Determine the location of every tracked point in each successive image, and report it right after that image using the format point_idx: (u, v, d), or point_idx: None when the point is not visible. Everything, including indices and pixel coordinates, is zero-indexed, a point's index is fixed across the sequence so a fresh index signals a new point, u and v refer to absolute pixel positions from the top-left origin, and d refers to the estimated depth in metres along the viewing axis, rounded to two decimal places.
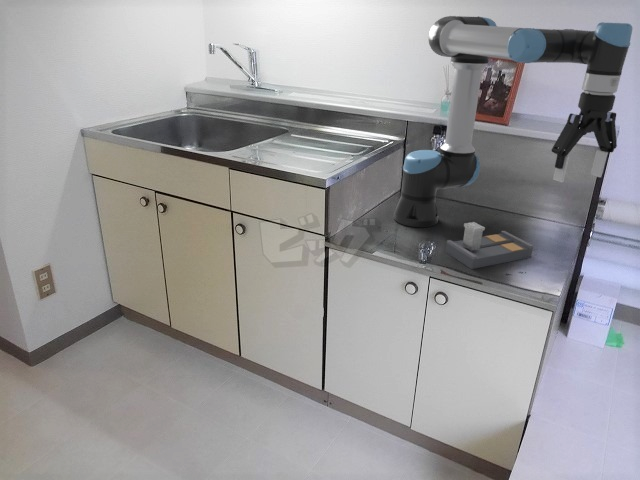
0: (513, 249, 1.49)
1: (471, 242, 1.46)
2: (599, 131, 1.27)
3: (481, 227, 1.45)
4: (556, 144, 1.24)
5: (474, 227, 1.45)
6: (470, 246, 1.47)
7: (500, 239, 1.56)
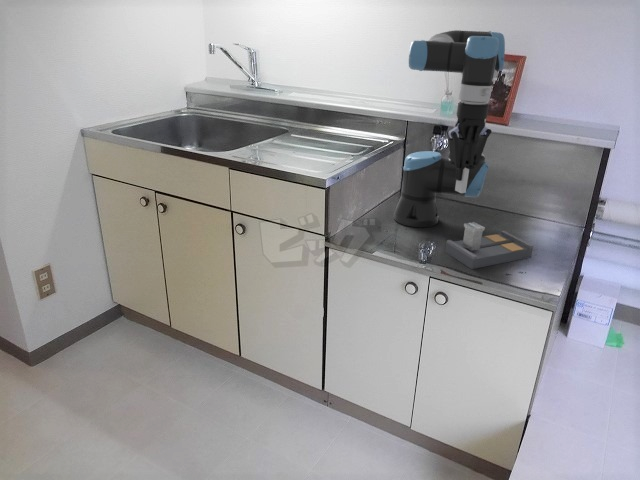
0: (513, 249, 1.49)
1: (471, 242, 1.46)
2: (471, 140, 1.33)
3: (481, 227, 1.45)
4: (451, 159, 1.34)
5: (474, 227, 1.45)
6: (470, 246, 1.47)
7: (500, 239, 1.56)
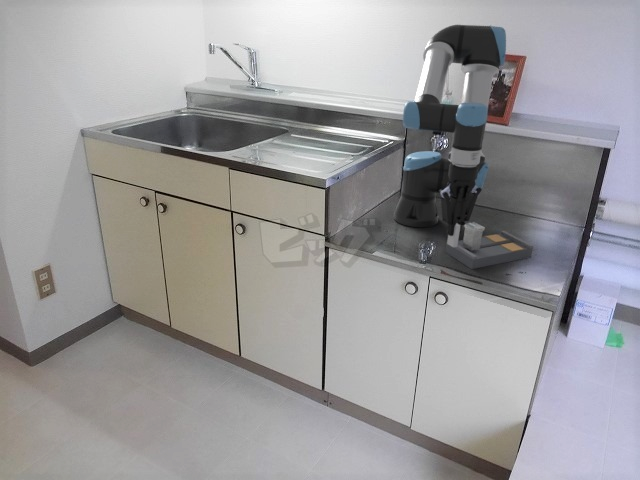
0: (513, 249, 1.49)
1: (471, 242, 1.46)
2: (462, 199, 1.39)
3: (481, 227, 1.45)
4: (443, 216, 1.41)
5: (474, 227, 1.45)
6: (470, 246, 1.47)
7: (500, 239, 1.56)
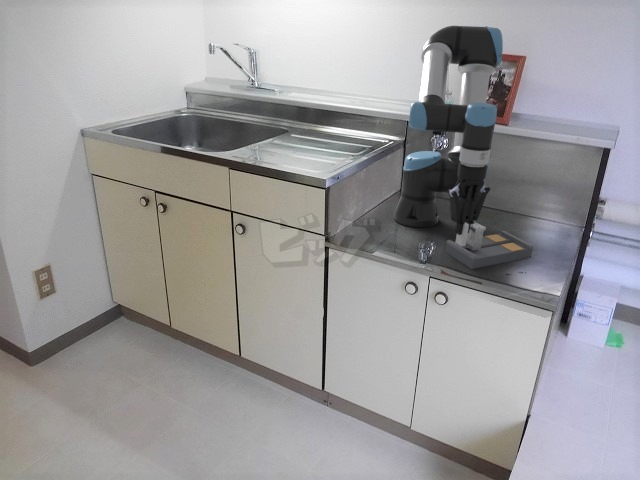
0: (513, 249, 1.49)
1: (472, 242, 1.46)
2: (471, 198, 1.41)
3: (482, 227, 1.45)
4: (452, 215, 1.42)
5: (475, 227, 1.45)
6: (471, 245, 1.47)
7: (500, 239, 1.56)
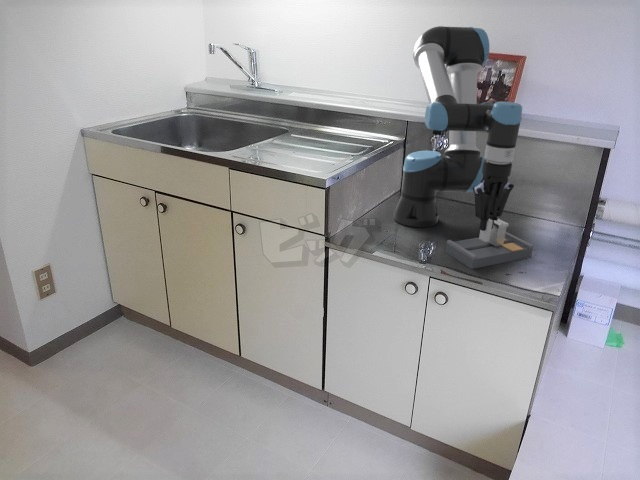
0: (513, 249, 1.49)
1: (495, 238, 1.49)
2: (495, 195, 1.44)
3: (505, 223, 1.48)
4: (476, 212, 1.45)
5: (498, 223, 1.48)
6: (494, 241, 1.50)
7: None
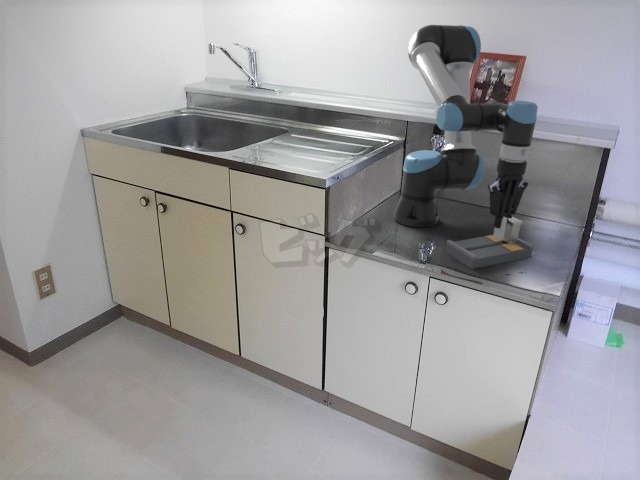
0: (513, 249, 1.49)
1: (509, 236, 1.52)
2: (510, 193, 1.46)
3: (519, 221, 1.50)
4: (491, 209, 1.47)
5: (512, 221, 1.50)
6: (508, 239, 1.52)
7: (500, 239, 1.56)
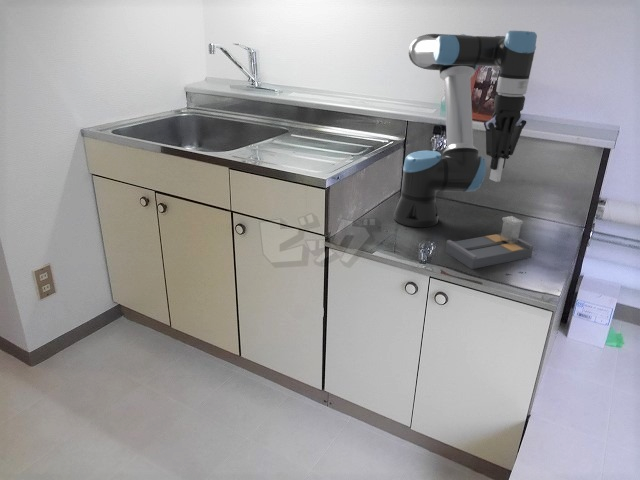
0: (513, 249, 1.49)
1: (509, 235, 1.52)
2: (507, 131, 1.39)
3: (519, 221, 1.51)
4: (487, 149, 1.40)
5: (513, 221, 1.50)
6: (508, 239, 1.52)
7: (500, 239, 1.56)
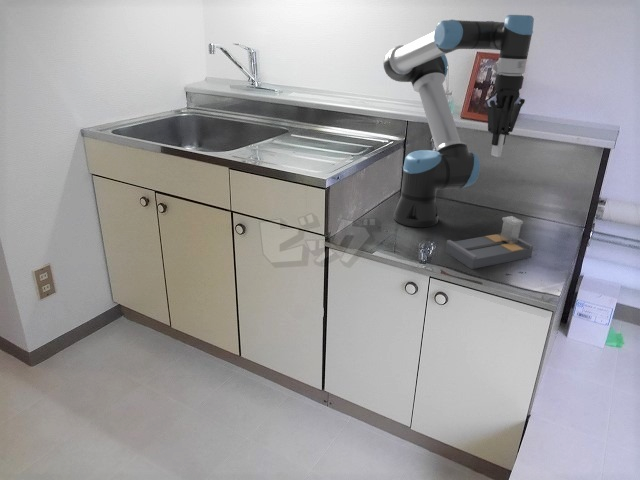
0: (513, 249, 1.49)
1: (509, 235, 1.52)
2: (507, 109, 1.49)
3: (519, 221, 1.51)
4: (489, 126, 1.51)
5: (513, 221, 1.50)
6: (508, 239, 1.52)
7: (500, 239, 1.56)
